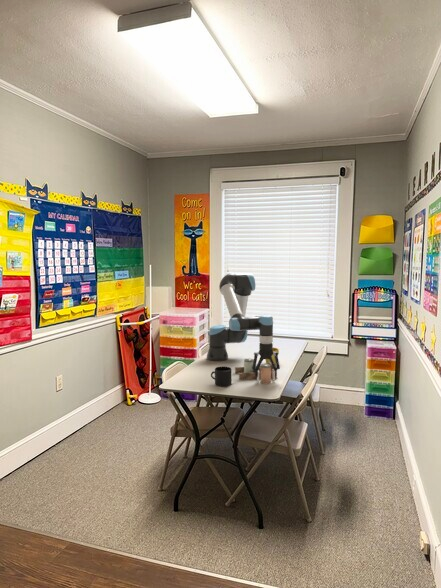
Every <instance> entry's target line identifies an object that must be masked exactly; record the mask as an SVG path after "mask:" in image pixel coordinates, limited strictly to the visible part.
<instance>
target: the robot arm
mask: <svg viewBox="0 0 441 588" xmlns="http://www.w3.org/2000/svg"><path fill="white" fill-rule="evenodd" d="M218 288H219V292H220V294H221V295H222V296H223V299H224V302H225V304H226V305H225V306H226V307H227V310H228V314H229V316H230V318H229V320H228V326H226V325H225V324H216V325H213V326H210V327H209V329H208V330H209V331H208V339H209V340H208V343H209V347H208V350H207V354H206V360H208V361H212V362H223V361H227V360H228V359H229V354H228V351H227V345H226V344H241V343H245V342H246V340H247V338H248V331H257V330H259V343H258V344H259V347H258V348H259V351H258V352H253V355H254V356H253V359H254V361H253V366H252V369H253V370H255V376H256V377H257V379H256V382H257V384H260V379H259V371H258V370H259V367H260V365H262V363H263V361H264V360H265V359H269V360H270V362H271V364H272V366H273V368H274V370H272V378H271V382H273V383H275V382H276V378H275V376H276V375H277V376H278V374H277V373H278V370H280V367H281V366H280V361H279V357H278V356H279V354H278V353H277V352H273V348H274V347H273V345H274V344H273V342H274V341H273V338H274V336H273V335H274V325H273V324H274V319H273V316H272V315H268V314H266V315H265V314H264V315H258V316H257V315H256V316H254V317H253V316H252V317H251V316H250V317H249V316H248V317H246V312H247V306H248V300H249V296H251V295H252V292H254V291H255V290H256V279H255V277H254V274H252V273H242V272H241V273H239V272H238V273H227V274H226V275H224V276H222V278H221V280H220V282H219V287H218ZM273 354H274V356H275V361H276V364H274V362H273V360H272V357H271V356H272V355H273ZM258 357H259V359H258ZM257 361H258V362H257ZM256 364H257V366H256ZM255 367H256V368H255Z"/></svg>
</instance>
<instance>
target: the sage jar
mask: <svg viewBox="0 0 441 588" xmlns="http://www.w3.org/2000/svg"><path fill="white" fill-rule="evenodd" d="M253 361H254V358H244V360H243V367H244V373H254V370H253V369H252V366H253Z"/></svg>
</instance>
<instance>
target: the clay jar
mask: <svg viewBox="0 0 441 588" xmlns="http://www.w3.org/2000/svg"><path fill="white" fill-rule="evenodd" d="M259 383H261V384H264V385H265V384H267V385H268V384H271V383H272V378H271V365H270V364H267V363H263V364H262V363H261V379H260V380H259Z"/></svg>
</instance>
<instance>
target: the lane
mask: <svg viewBox="0 0 441 588" xmlns="http://www.w3.org/2000/svg"><path fill="white" fill-rule="evenodd" d="M269 364H270V365H271V379H272V370H274V368H273V366H272V364H271V362H269ZM258 371H259V380H261V368H259V370H258ZM234 373H235V374H238V379H239V380H257V377H256V376H255V372H254V373H244V366H236V367H234ZM276 378H278V374H277V375H276V376H275V379H276Z"/></svg>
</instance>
